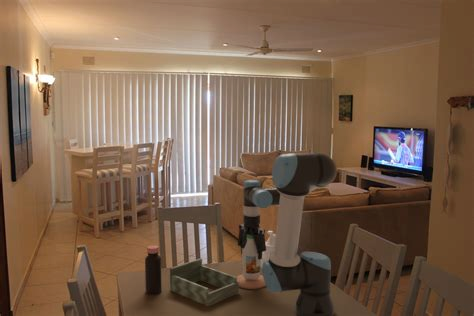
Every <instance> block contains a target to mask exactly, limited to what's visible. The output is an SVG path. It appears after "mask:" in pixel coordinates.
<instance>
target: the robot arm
mask: <svg viewBox="0 0 474 316" xmlns="http://www.w3.org/2000/svg"><path fill="white" fill-rule="evenodd" d="M337 174H338V169H337V165H336V162H335V161H334V160H333V158H331V157H330V156H329V155H328V154H325V153H322V152H301V153H299V152H298V153H293V152H289V153H283V154H280V155H278V156H277V157H276V158H275V160H274V162H273V165H272V168H271V176H272V179H271V180H272V184H273V186H274V187H268V188H265V187H264V188H262V185H261V181H260V180H255V179H247V180H245V181H243V188H242V190H243V212H242V213H243V224H239V225H238V230H239V231H238V239H237V246H239V247H240V254H241V262H242V263H243V252H244V248H245V245H246V243H247V234H250V235H252V237H253V238H254V241H255V245H256V248H257V251H258V252H256V267H258V266H260V267H261V259H262V252H264V251H266V244H265V242H266V237H265V233H266V230H265V228H263V229H262V228H261V227H260V223H261V215H260V214H261V209H266V208H269V207H271V206H278V210H277V211H278V212H277V222H276V229H275V235H276V237H275V246H274V251H273V252H271V253H270V255H269V261H265V262H264V263H263V265H262V268H261V271H262V275H263V278H264V281H265V284H266V286H265V287H267V290H268V291H269V292H271V293H283V292H290V291H297V290H299V294H298V297H297V299H296V302H295V305H294V312H295V314H296V315H297V316H335V306H334V303H333V300H332V299H333V298H332V296H331V275H332V273H331V272H332V265H331V264H332V263H331V258H329V257H328V256H327V255H326V254H323V253H320V252H316V251H302V252H301V253H300V254H299V255H298V249H299V241H300V235H301V234H300V232H301V226H302V219H303V210H304V203H305V202H304V201H305V197H307V196H308V195H309V194H310V193H311V192H313V191H314V190H316V189H318V188H324V187H325V188H326V187H327V186H328V185H330V184H332V183H333V182H334V180H335V179H336V176H337ZM255 235H256V236H255Z"/></svg>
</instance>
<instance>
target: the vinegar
mask: <svg viewBox="0 0 474 316" xmlns="http://www.w3.org/2000/svg"><path fill="white" fill-rule="evenodd" d="M146 252H147V253H146V254H147V255H146V256H145V258H144V266H145V267H144V268H145V269H144V271H145V272H144V273H145V274H144V275H145V293H146V294H147V295H158V294H160V293H162V257H161V256H160V255H159V252H160V247H159V245H156V244H155V245H148V246H146Z"/></svg>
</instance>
